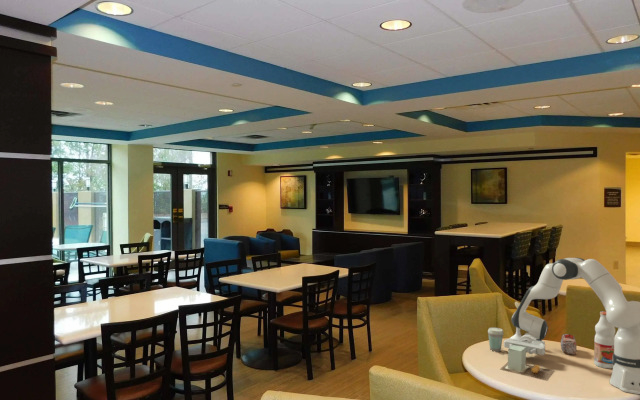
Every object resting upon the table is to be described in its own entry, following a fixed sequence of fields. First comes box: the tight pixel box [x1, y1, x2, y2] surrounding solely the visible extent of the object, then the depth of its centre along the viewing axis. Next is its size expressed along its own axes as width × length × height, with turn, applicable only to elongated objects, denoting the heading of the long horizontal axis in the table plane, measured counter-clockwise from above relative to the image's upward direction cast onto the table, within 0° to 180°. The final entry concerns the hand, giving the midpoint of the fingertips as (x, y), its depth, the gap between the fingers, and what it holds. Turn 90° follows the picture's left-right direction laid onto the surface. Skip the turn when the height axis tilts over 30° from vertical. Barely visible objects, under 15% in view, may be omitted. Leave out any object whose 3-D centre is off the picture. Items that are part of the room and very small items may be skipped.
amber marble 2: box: [533, 364, 541, 371], centre depth 230 cm, size 3×3×3 cm
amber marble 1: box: [531, 367, 538, 373], centre depth 227 cm, size 3×3×3 cm
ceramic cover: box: [507, 345, 527, 371], centre depth 234 cm, size 6×8×10 cm
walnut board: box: [499, 361, 555, 382], centre depth 231 cm, size 22×16×1 cm
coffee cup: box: [487, 327, 505, 353], centre depth 263 cm, size 8×9×12 cm
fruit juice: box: [593, 310, 616, 369], centre depth 241 cm, size 9×9×28 cm
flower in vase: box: [508, 301, 523, 340], centre depth 274 cm, size 13×11×25 cm
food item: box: [560, 333, 577, 356], centre depth 262 cm, size 14×8×10 cm, turn 156°
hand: (520, 350), depth 239 cm, fingers open, 8 cm apart
